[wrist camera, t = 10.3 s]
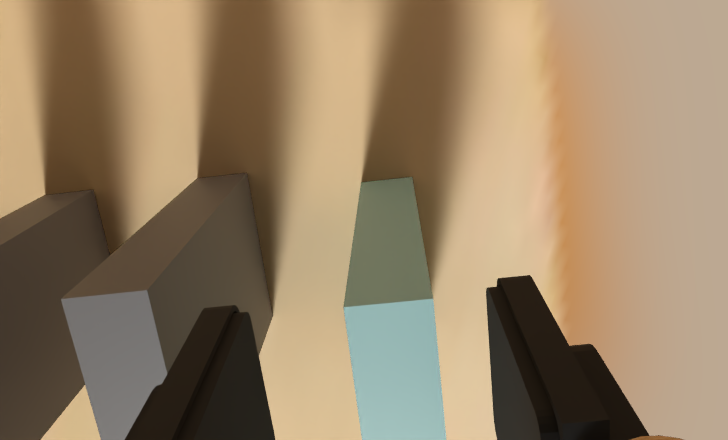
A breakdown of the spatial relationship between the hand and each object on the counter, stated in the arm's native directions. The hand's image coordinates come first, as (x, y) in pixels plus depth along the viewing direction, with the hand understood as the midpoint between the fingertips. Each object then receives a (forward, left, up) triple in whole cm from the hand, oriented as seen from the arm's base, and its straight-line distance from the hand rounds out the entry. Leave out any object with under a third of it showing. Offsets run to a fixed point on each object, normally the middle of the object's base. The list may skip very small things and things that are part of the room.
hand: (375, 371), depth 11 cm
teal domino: (+1, 0, -10) cm, 10 cm away
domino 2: (+1, -5, -10) cm, 11 cm away
